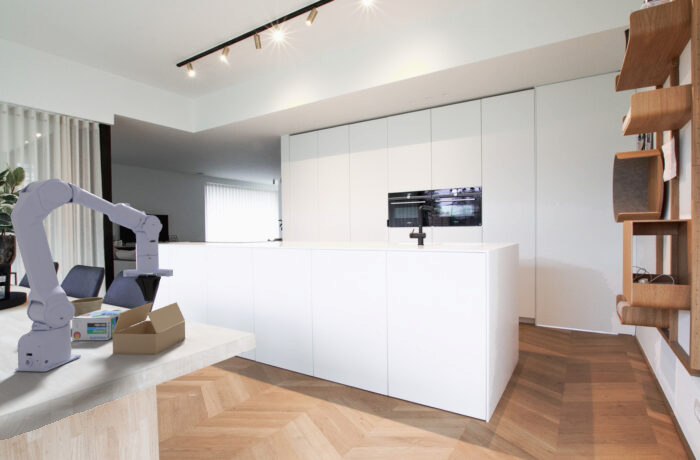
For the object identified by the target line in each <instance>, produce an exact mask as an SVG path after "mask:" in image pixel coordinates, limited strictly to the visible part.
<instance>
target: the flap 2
mask: <svg viewBox="0 0 700 460" xmlns="http://www.w3.org/2000/svg"><path fill="white" fill-rule="evenodd" d="M147 314H148V316H147V317H148V318H149V321H151V323H152V325H153V327H154V329H155V331H156V334H157V333H159V332H161V331H164V330H166V329H168V328H170V327H172V326H174V325H176V324H178V323H180V322H183V321H185V318H184V315H183V313H182V311H181V308H180V306H179V304H178V302H174V303H171V304H168V305H165V306H163V307H159V308H158V309H155V310H152V311H151V310H150V311H149V313H147ZM185 322H186V321H185Z"/></svg>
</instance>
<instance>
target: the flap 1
mask: <svg viewBox="0 0 700 460" xmlns="http://www.w3.org/2000/svg"><path fill="white" fill-rule="evenodd" d="M153 304H154V301H150V302H148V303H145V304H143V305H139V306H136V307H132V308H129V309H126V310H127V311H124V312H121V313H120V316H119V318H118V320H117V323H116V325H115V328H114V330H113V333H115V332H117V331H120V330H122V329H125V328H128V327H131V326H134V325H136V324H139V323H141V322H144V321H146V320H147V318H148V317H149V316H148V314H147V313H149V312H151V309H152V306H153Z"/></svg>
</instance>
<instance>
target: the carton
mask: <svg viewBox="0 0 700 460" xmlns="http://www.w3.org/2000/svg"><path fill="white" fill-rule="evenodd" d="M112 336H113V337H112V354H130V355H131V354H133V355H136V354H137V355H158V354H160V353H161V352H163V351H165V350H166V349H168V348H170V347H172V346H174V345H175V344H177V343H179V342H182V341H183V340H185V339H186V321H183V322H180V323H178V324H176V325H174V326H172V327H170V328H168V329H166V330H164V331H161V332H159V333H157V334H156V331H155V329H154V327H153V325H152V323H151V321H150V319H149V320H147V319H146V320H145V321H143V322H140V323H138V324H135V325H133V326H130V327H129V328H126V329H124V330H121V331H119V332H116V333H114V334H112Z"/></svg>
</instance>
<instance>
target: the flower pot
mask: <svg viewBox="0 0 700 460" xmlns="http://www.w3.org/2000/svg"><path fill="white" fill-rule="evenodd" d="M104 300H105V297H102V296H95V297H94V296H93V297H92V296H91V297H84V298H78V299H73V300H71V301H70V300H69V301H70V302H71V303H72V304H73V305H74V307H75V314H74V317H77V316H81V315H84V314H87V313H91V312H94V311H97V310H102V305H103V302H104ZM74 317H73V318H74Z"/></svg>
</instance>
